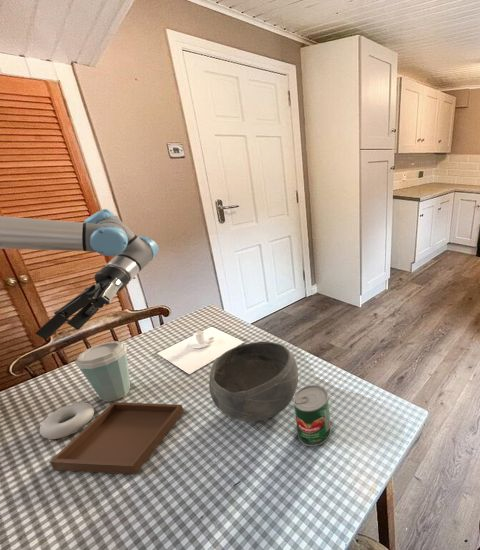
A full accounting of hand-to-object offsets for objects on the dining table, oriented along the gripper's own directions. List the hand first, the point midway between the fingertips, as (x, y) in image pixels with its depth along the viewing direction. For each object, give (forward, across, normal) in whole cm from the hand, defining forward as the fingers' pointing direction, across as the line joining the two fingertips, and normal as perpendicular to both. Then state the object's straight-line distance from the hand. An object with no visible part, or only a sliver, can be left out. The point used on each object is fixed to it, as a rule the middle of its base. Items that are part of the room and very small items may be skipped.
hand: (56, 331), depth 74 cm
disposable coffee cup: (+4, +3, -23) cm, 24 cm away
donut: (+14, +4, -19) cm, 24 cm away
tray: (+17, -12, -24) cm, 31 cm away
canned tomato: (+11, -53, -42) cm, 68 cm away
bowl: (+5, -37, -38) cm, 53 cm away
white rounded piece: (-17, -4, -34) cm, 38 cm away
